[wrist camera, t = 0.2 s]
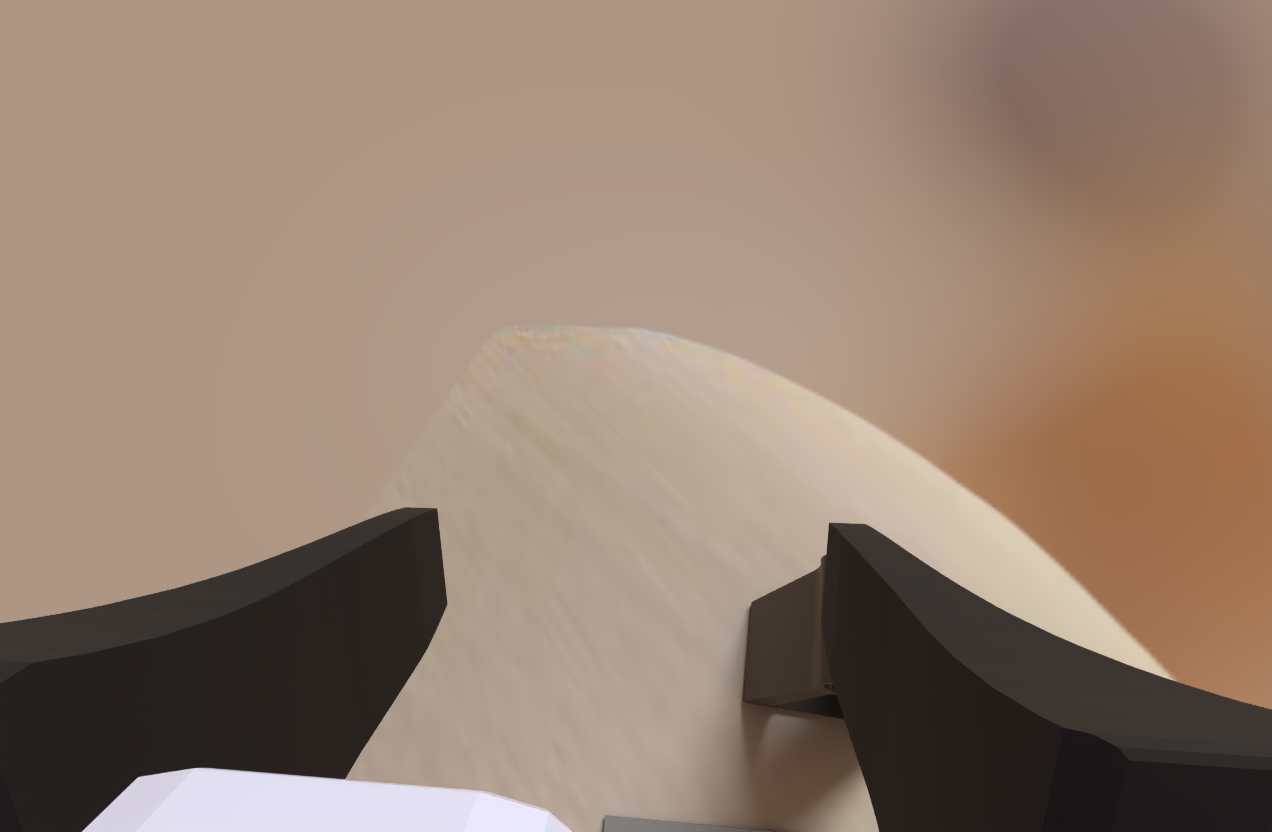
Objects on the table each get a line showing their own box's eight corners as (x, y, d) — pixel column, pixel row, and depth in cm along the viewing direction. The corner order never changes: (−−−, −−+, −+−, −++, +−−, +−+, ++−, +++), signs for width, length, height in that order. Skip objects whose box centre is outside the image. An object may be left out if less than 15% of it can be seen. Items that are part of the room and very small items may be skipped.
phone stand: (742, 701, 39) (751, 668, 28) (751, 603, 42) (762, 540, 31) (898, 730, 37) (968, 704, 27) (896, 625, 40) (959, 566, 30)
